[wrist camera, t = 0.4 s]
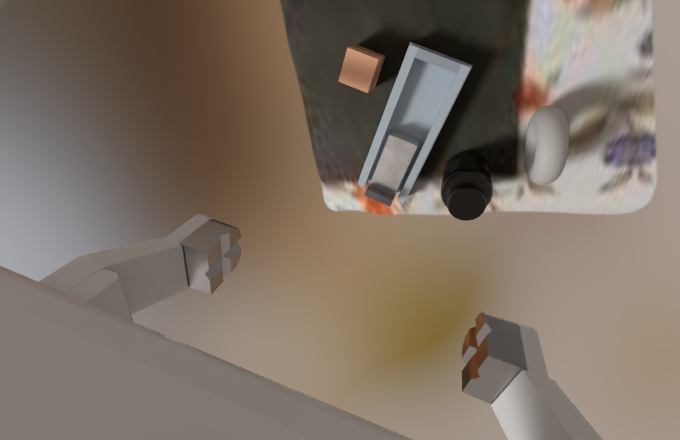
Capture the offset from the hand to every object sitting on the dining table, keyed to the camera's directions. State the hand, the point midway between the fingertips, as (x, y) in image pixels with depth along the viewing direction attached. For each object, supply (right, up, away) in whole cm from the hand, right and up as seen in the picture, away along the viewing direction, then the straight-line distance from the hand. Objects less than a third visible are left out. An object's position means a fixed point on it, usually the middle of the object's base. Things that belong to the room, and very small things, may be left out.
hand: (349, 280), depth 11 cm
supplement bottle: (+20, +10, +42) cm, 47 cm away
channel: (+11, +17, +41) cm, 45 cm away
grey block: (+9, +11, +43) cm, 45 cm away
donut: (+28, +14, +36) cm, 48 cm away
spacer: (+4, +25, +38) cm, 46 cm away
